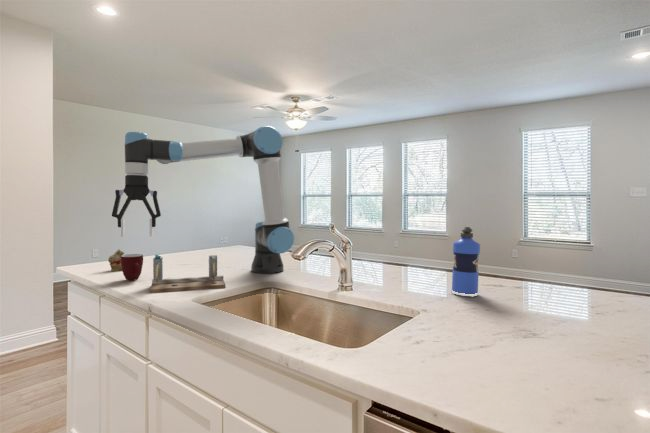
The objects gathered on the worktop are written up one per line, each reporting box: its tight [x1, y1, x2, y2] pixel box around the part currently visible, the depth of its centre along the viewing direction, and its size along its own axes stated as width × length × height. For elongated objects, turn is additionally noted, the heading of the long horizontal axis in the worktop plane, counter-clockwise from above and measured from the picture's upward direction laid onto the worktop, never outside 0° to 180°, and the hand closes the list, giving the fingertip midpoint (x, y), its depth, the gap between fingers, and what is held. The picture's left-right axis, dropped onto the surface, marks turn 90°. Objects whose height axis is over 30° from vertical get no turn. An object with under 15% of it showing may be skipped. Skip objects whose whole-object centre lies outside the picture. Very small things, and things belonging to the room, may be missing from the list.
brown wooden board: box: [149, 275, 226, 294], centre depth 139 cm, size 26×12×3 cm, turn 111°
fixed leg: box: [208, 254, 218, 279], centre depth 143 cm, size 3×8×8 cm, turn 21°
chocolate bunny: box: [108, 248, 125, 272], centre depth 167 cm, size 6×8×10 cm
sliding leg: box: [152, 254, 164, 282], centre depth 135 cm, size 3×8×9 cm, turn 21°
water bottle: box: [451, 226, 481, 294], centre depth 134 cm, size 9×9×25 cm
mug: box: [121, 253, 144, 282], centre depth 147 cm, size 11×8×10 cm
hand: (137, 236), depth 135 cm, fingers open, 9 cm apart
